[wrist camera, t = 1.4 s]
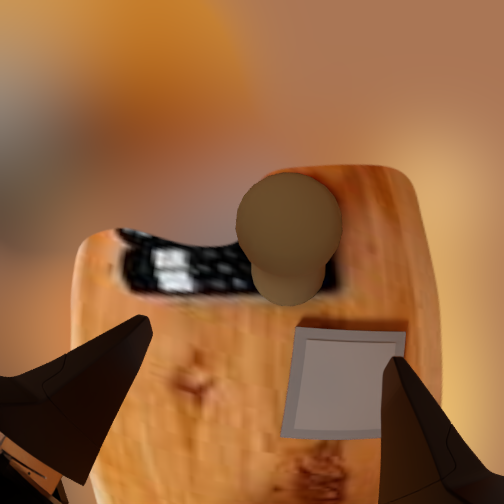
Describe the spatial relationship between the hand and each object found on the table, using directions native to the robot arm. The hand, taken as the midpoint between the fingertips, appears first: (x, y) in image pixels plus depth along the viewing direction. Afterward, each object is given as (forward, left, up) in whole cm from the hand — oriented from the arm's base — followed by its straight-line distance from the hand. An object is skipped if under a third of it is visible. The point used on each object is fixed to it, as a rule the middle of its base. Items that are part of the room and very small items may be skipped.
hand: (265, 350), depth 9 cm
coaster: (-2, -6, -12) cm, 14 cm away
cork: (+6, +1, -12) cm, 14 cm away
